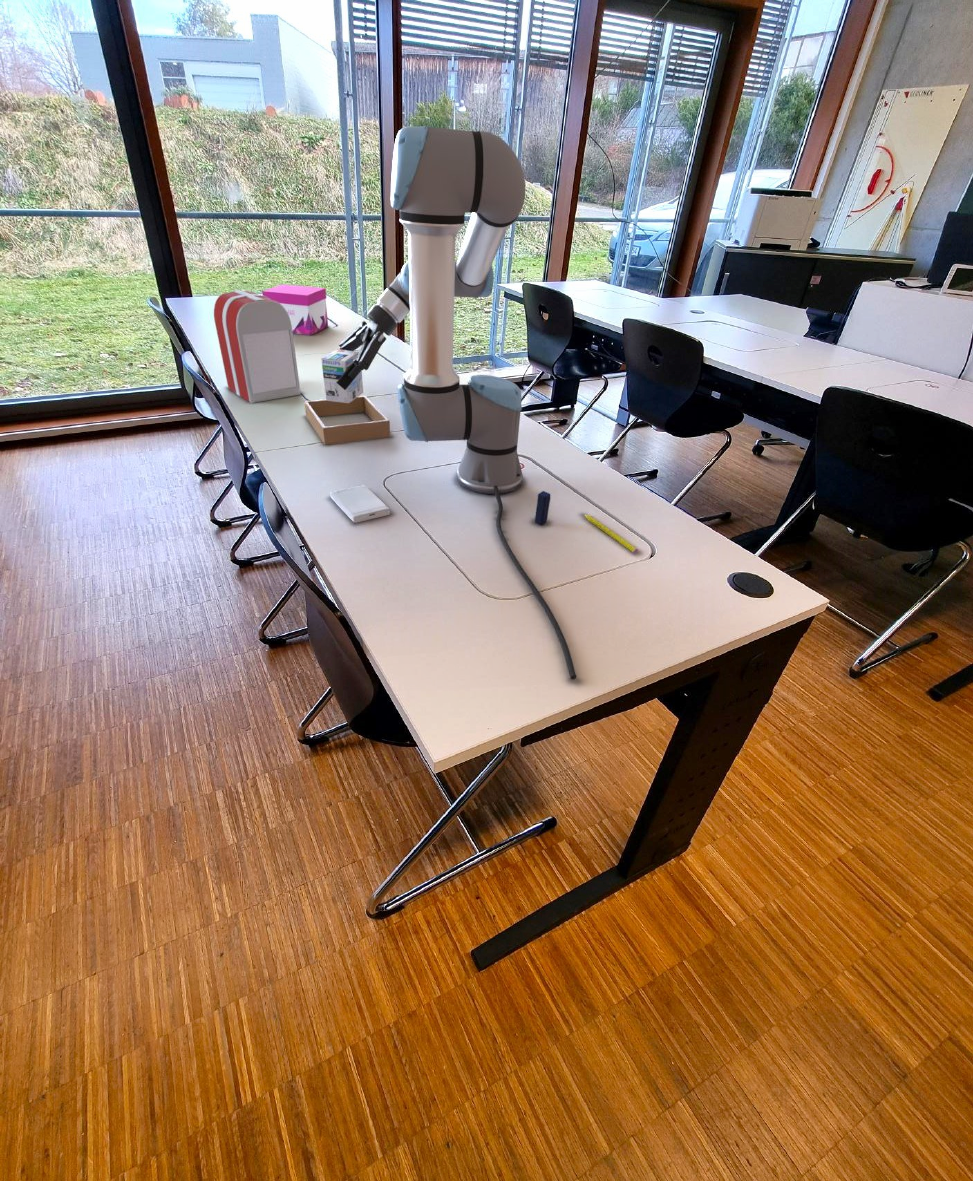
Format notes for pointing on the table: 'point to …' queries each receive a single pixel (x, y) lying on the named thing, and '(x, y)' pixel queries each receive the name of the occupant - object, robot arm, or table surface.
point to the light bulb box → (334, 370)
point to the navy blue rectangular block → (542, 508)
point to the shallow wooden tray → (347, 431)
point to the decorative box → (302, 306)
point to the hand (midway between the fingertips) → (334, 379)
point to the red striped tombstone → (256, 346)
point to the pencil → (611, 534)
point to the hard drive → (359, 503)
